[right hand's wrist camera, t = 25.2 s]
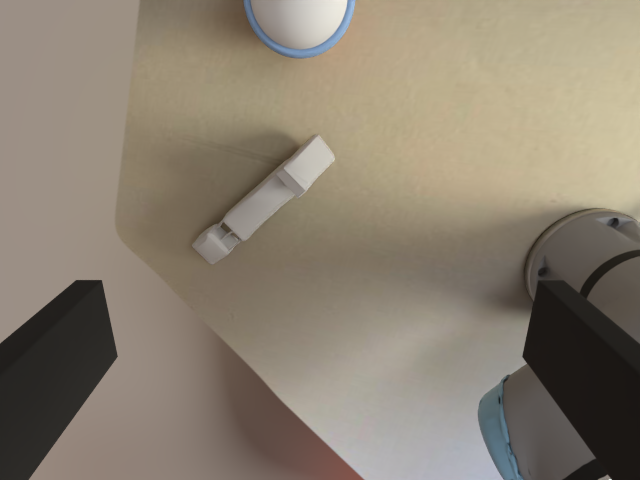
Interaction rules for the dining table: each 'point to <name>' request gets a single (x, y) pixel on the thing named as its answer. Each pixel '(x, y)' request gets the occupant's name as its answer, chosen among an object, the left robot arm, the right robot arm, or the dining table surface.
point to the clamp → (266, 199)
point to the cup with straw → (299, 24)
